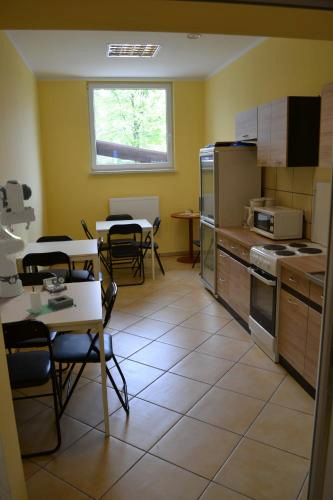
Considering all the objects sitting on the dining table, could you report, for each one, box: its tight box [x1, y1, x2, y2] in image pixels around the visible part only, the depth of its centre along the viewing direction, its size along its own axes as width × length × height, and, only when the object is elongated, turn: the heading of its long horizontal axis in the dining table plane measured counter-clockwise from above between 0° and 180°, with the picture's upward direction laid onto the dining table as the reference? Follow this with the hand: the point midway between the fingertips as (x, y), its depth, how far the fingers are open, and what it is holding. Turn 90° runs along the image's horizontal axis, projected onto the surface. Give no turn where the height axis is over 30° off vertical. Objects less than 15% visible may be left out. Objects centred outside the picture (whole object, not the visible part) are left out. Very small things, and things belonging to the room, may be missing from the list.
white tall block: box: [29, 285, 42, 313], centre depth 236 cm, size 4×4×16 cm
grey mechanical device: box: [42, 276, 68, 294], centre depth 280 cm, size 18×10×12 cm
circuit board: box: [25, 303, 77, 317], centre depth 243 cm, size 15×26×1 cm, turn 131°
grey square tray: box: [47, 294, 75, 309], centre depth 247 cm, size 11×11×4 cm
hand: (19, 230), depth 241 cm, fingers open, 8 cm apart
